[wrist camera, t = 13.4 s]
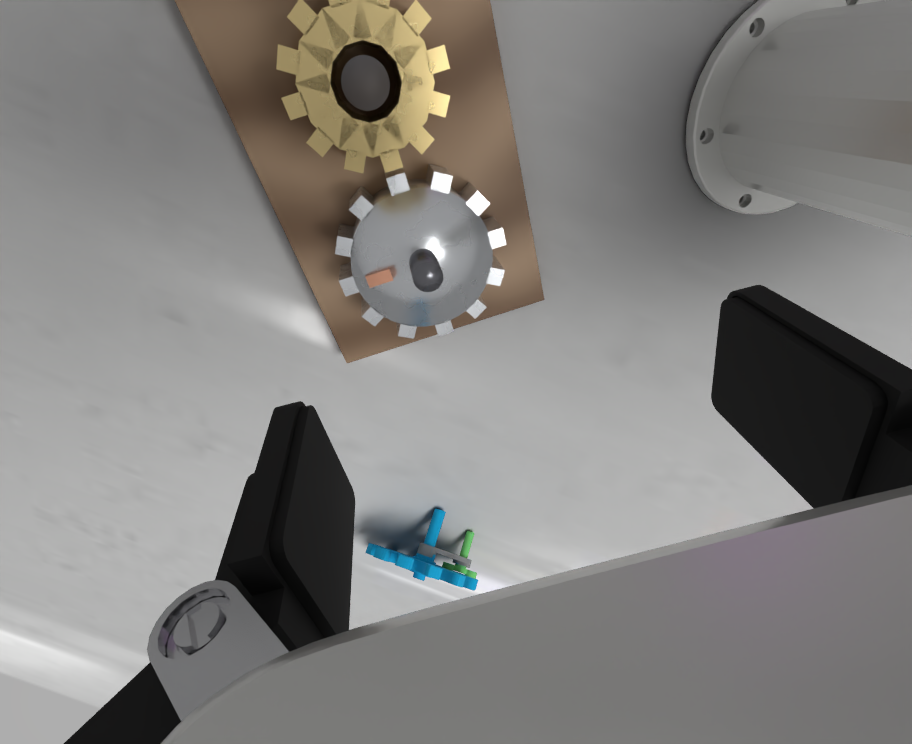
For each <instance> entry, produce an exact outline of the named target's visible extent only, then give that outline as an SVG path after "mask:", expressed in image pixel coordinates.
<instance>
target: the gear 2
mask: <svg viewBox="0 0 912 744" xmlns="http://www.w3.org/2000/svg"><path fill="white" fill-rule="evenodd" d="M445 513H446V512H444V511H442V510H439V509H435V510H434V513H433V516H432V519H431V522H430V525H429V528H428V532H427V535H426V538H425V541H424V543H421V542H420V545H419V548H418V551H417V554H416V556H413V557H412V556H408V555H405V554H403V553H400V552H397V551H394V550H391V549H387V548H384V547H381V546H378V545H375V544H371V543H369V545H368V547H367V550H366V553H367V554H370V555H373V557H376V558H379V559H381V560H384V561H387V562H393V563H395V565H397V566H400V567H402V568H405V569H408V570H410V571H412V572H414V575H413V577H414V578H417V579H420V580H423V581H424V580H425V576H427V577H430V578H434V579H437V580H439V579H440V580H443V581H446V582H448V583H450V584H453V585H456V586H459V587H465V588H468V589H471V590H475V589H476V586H477V582H478V580H477V579H475V578H476V575H477V573H476V572H473V571H470V570H467V569H466V567H468V568H470V564H471V560H470V559H467V557H468V553H469V550H470V546H471V543H472V539H473V536H474V533H473V532H470V531H467V532H466V536H465V539H464V542H463V546H462V549H461V553H460V556H458V555H455V554H453V553H450V552H447V551H444V550H441V549H438V548H436V547H435V545H436V541H437V538H438V535H439V532H440V529H441V525H442V522H443V519H444V516H445ZM436 553H437V554H440V555H443V556H446V557H449V558H452V559H453V563H456V564H455V565H452V564H449V563H446V562H443V565H442V567H441V566H438V565H435V564H436V563H435V562H434V559H435V556H436ZM453 570H455V571H458V572H461V573H464V574H465V575H464V574H461V573H458V572H455V571H453Z"/></svg>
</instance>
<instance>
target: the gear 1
mask: <svg viewBox="0 0 912 744" xmlns="http://www.w3.org/2000/svg"><path fill="white" fill-rule="evenodd" d="M384 172H385V170H384ZM385 177H386V180H387V183H388V186H387V187H385V188H384V189H382V190H380V191H379V192H378V193H376V194H375V195H374V196H372V195H371V194H370V193H369V192H368V191H367V190H366V189H365V188H363V187H362V186H361V187H360V188H359V189H358V190H357V191H356V193H355V194H354V195H353V196H352V197H351V199H350V204H349V210H350V211H351V212H352V213H353V214H354V215H355V216H357V220H356V222H355V225H354V227H353V226H348V225H343V224H339V228H338V235H337V242H336V250H335V254H337V255H342V256H347V257H350V258H351V262H350V263H347V264H344V265H341V266H340V273H339V283H340V285H341V287H342V290H343V292H344V294H345V297H346V296H349V295H352V294H355V293H358V292H360V294H361V295H362V297H363V299H362V317H363V318H364V319H365V320H367V321H368V322H369V323H371V324H372V325H373V326H376V325H377V324H378V323H379V322H380V321H381V320H382V318H383V317H385V318H387V319H389V320H391V321H394V322H396V326H397V333H398V336H400V337H407V338H413V339H414V337H415V333H416V328H417V327H424V326H433V325H435V327H436V330H437V333H438V336H442V335H445V334H448V333H452V332H454V330H453V327H452V323H451V320H452V319H454V318H456V317H457V316H459V315H461V314H462V313H463V312H465V311H467V312H468V313H469V314H470V315H471V316H472V317H474V318H475V319H476V318H477V317H478V316H479V315H480V314H481V313H482V312H483V311H484V310H485V309H486V308H487V307H486V305H485V303H484V301H483V299H482V297H481V293H482V292H483V290H484V288H485V286H486V284H491V285H497V286H500V285H501V281H502V278H503V275H504V272H505V270H504V268H503V267H502V265H501V264H500V263H499V261H498V260H497V258H496V257H495V256H493V251H492V249H494V248H497V247H500V246H504V245H506V240H505V236H504V231H503V227H502V226H501V225H500V224H499V223H498V222H497V221H496V220H495V219H494V217H493V216H492V217H489V218H486V219H483V220H482V219H481V217H480V216H479V215H480V214H481V213H482V212H483V211H484V210H485V209H486V208H487V207H488V206H489V205H490V203H489V202H488V201H487V200H486V199H485V198H484V197H483V196H482V195H481V194H480V193H479V192H478V190H477V189H476V188H475V187H474V186H473V185H472V184H471V183H470V182H468V183H467V184H466V185H465V186H464V187H463V189H462V190H461V191H460V192H459V193H458V192H457V191H455V190H454V189H452V188H451V187H450V186H451V182H452V178H453V176H452V175H451V173H450V172H449V171H448V170H447V169H446V168H443V167H440V166H436V165H432V164H428V169H427V174H426V178H425V179H409V180H407V179H406V175H405V172H404V170H403V167H402V168H399V169H396V170H393V171H390V172H387V173H385Z"/></svg>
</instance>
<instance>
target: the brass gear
mask: <svg viewBox="0 0 912 744" xmlns="http://www.w3.org/2000/svg"><path fill="white" fill-rule="evenodd" d="M328 1H329V4H330V6H327V7H324V8H322V9H321V11H320V12H319V14H318V15H317V14H316V13H315V12H314V11H313V10H312V9H311V8H310V7H309V6H308V5H307V4H306V3H305V2H304V1H303V0H298V2H297V3H296V5H295V6H294V8H293V9H292V10H291V12H290V13H289V15H288V16H287V18H288V19H289V20H290V21H291V22H292V23H293V24H294V25H295V26H296V27H297V28H298V29H299V30H300V31H301V32H302V33H303V34H304V35H303V36H302V38H301V39H300V40H299V47H298V50H296V49H292V48H289V47H286V46H282V45H279V44H278V51H277V66H276V69H277V70H281V71H284V72H288V73H291V74H295V75H296V83H295V84H296V86H297V89H298V91H299V92H298V93H294V94H291V95H288V96H285V97H282V98H281V99H282V101H283V103H284V106H285V108H286V111H287V113H288V116H289V118H290V120H293V119H296V118H299V117H302V116H306V115H308V117H309V119H310V122H311V123H312V124H313V125H314V126H315V127H316V128H317V129H316V130H315V132H314V133H313V134H312V136H311V137H310V138H309V140H308V141H307V142H306V143H307V144H308V145H309V146H310V147H312V148H313V149H314V150H315V151H316V152H317V153H318V154H319V155H320V156H322V157H323V156H324V155H325V154H326V153H327V151H328V150H329V149H330V147H331V146H332V145H333V144H334V145H335V146H336V147H338V148H339V149H341V150H345V151H346V158H345V166H344V169H346V170H350V171H354V172H359V173H363V172H364V166H365V159H366V156H369V157H372V158H374V157H376V156H380V158H381V161H382V164H383V167H384V170H385V173H387V172H390V171H393V170H396V169H399V168H402V167H403V164H402V161H401V158H400V155H399V151H398V149H401V148H404V147H405V146H406V145H407V144H408V143H409V142H410V143H411V144H412V145H413V146H414V147H415V148H416V149H417V150H418V151H419V152H420V153H421V154H423V153H424V152H425V150H426V149H427V148H428V147H429V146H430V145H431V143H432V142H433V141H434V140H435V139H434V138H433V137H432V136H431V135H430V134H429V133H428V132H427V131H426V130H425V129H424V128H423V127H422V126H423V125H424V124H425V122H426V121H427V118H428V114H429V113H431V114H435V115H438V116H442V117H446V113H447V108H448V104H449V99H450V96H449V95H446V94H443V93H439V92H436V91H433V89H434V84H435V81H434V77H433V74H435V73H438V72H441V71H444V70H447V69H450V66H449V62H448V58H447V53H446V49H445V45H442V46H439V47H436V48H433V49H430V50H427V49H426V45H425V41H424V40H423V39H422V38H421V37H420V36H419V34H420V33H421V32H422V30H423V29H424V28H425V27H426V25H427V24H428V23H429V21H430V20H431V19H432V18H431V17H430V16H429V15H428V13H427V12H426V11H425V10H424V9H423V7H422V6H421V5H420V4H419V2H418V1H417V0H415V1H414V2H413V4H412V5H411V6H410V8H409V9H408V10H407V11H406V13H405V14H404V15H403V16H402V14H401V13H400V12H399V11H398V10H397V9H395V8H392V7H389V4H390V0H328ZM362 44H363V45H366V46H369V47H372V48H376V49H379V50H380V51H381V52H382V53H383V54H384V56H385V57H386V58H387V59H388V60H389V61H390V62H391V63H392V67H393V70H394V74H395V77H396V81H397V82H396V88H395V94H394V99H393V100H392V102H391V103H390V104H389V105H388V107H387V108H386V109H385V110H384V111H383V112H380V113H377V114H374V115H371V116H366V115H363V114H359V113H356V112H353V111H352V110H351V109H350V108H349V107H348V106H347V105H346V104H345V103H344V102H343V101H342V100H341V99H340V96H339V93H338V90H337V87H336V85H335V73H336V65H337V62H338V61H339V60H340V58H341V57H342V55H343V54H344V53H345V51H346V50H347V49H350V48H353V47H356V46H359V45H362Z"/></svg>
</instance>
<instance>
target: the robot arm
mask: <svg viewBox="0 0 912 744" xmlns="http://www.w3.org/2000/svg"><path fill="white" fill-rule="evenodd" d="M700 135H701V136H700ZM686 149H687V156H688V163H689V166H690V169H691V172H692V174H693V177H694V180H695V181H696V183H697V184H698V186H699V187H700V189H701V190H702V192H703V193H704V194H705V195H706V196H707V197H709V198H710V199H711V200H712V201H713V202H714V203H716V204H718V205H720V206H722V207H724V208H726V209H729V210H732V211H735V212H737V213H741V214H753V215H760V214H768V213H774V212H777V211H780V210H783V209H787V208H790V207H792V206H794V205H796V204H798V203H801V204H804V205H807V206H811V207H814V208H817V209H821V210H824V211H827V212H831V213H834V214H837V215H840V216H844V217H847V218H850V219H854V220H857V221H860V222H864V223H867V224H870V225H874V226H877V227H880V228H884V229H887V230H890V231H894V232H897V233H900V234H904V235H907V236H910V237H912V0H885V1H884V0H759V1H757V2H756V3H755V4H754V5H752V6H751V7H750V8H749V9H747V10H746V11H745V12H744V13H743V14H742V15H741V16H740V17H739V19H738V20H737V21H736V22H735V23H734V24H733V25H732V26H731V27H730V28H729V29H728V30H727V32H726V33H725V35H724V36H723V37H722V39H721V40H720V42H719V43H718V45H717V46H716V47H715V49H714V50H713V52H712V53H711V55H710V57H709V59H708V61H707V63H706V65H705V67H704V69H703V71H702V73H701V75H700V77H699V79H698V82H697V85H696V88H695V91H694V94H693V96H692V99H691V104H690V109H689V114H688V119H687V127H686ZM711 398H712V402H713V405H714V407H715V409H716V410H717V411H718V412H719V413H720V414H721V415H722V416H723V417H724V418H725V419H726V420H727V421H728V422H729V423H730V424H731V425H732V426H733V427H734V428H735V429H736V430H737V432H738V433H739V434H740V435H741V436H742V437H743V438H744V439H745V440H746V441H747V442H748V443H749V444H750V445H751V446H752V447H753V448H754V449H755V450H756V451H757V452H758V453H759V454H760V455H761V456H762V457H763V458H764V459H765V460H766V461H767V462H768V463H769V464H770V465H771V466H772V467H773V468H774V469H775V470H776V471H777V472H778V473H779V474H780V475H781V476H782V477H783V478H784V479H785V480H786V481H787V482H788V483H789V484H790V485H791V486H792V487H793V488H794V489H795V490H796V491H797V492H798V493H799V494H800V495H801V496H802V497H803V498H804V499H805V500H806V501H807V502H808V503H809V504H810V505H811V506H812V507H813V508H814V509H811V510H807V511H803V512H799V513H795V514H791V515H787V516H783V517H779V518H775V519H771V520H767V521H763V522H759V523H755V524H751V525H747V526H743V527H739V528H735V529H731V530H727V531H723V532H719V533H715V534H711V535H707V536H703V537H699V538H695V539H691V540H687V541H683V542H680V543H676V544H672V545H668V546H664V547H660V548H656V549H652V550H648V551H644V552H640V553H637V554H633V555H629V556H625V557H621V558H617V559H613V560H609V561H605V562H601V563H598V564H594V565H590V566H586V567H582V568H578V569H574V570H570V571H566V572H563V573H559V574H555V575H551V576H547V577H544V578H540V579H536V580H532V581H528V582H524V583H521V584H517V585H513V586H509V587H505V588H502V589H498V590H494V591H490V592H486V593H482V594H479V595H475V596H471V597H467V598H463V599H460V600H456V601H452V602H448V603H444V604H440V605H437V606H433V607H430V608H426V609H422V610H419V611H415V612H412V613H408V614H405V615H401V616H397V617H394V618H390V619H387V620H383V621H380V622H376V623H372V624H369V625H365V626H362V627H358V628H355V629H352V630H349V615H350V595H351V575H352V555H353V536H354V516H355V496H354V492H353V489H352V486H351V484H350V482H349V480H348V478H347V476H346V473H345V471H344V469H343V467H342V465H341V463H340V461H339V459H338V457H337V454H336V452H335V450H334V448H333V446H332V444H331V442H330V440H329V437H328V435H327V433H326V431H325V429H324V427H323V425H322V423H321V421H320V418H319V416H318V414H317V412H316V410H315V408H314V407H313V406H312V405H310V406H305V404H304V403H303V402H301V401H299V402H295V403H292V404H288V405H284V406H280V407H276V408H275V409H274V411H273V414H272V417H271V420H270V424H269V427H268V430H267V434H266V437H265V440H264V444H263V447H262V450H261V453H260V457H259V460H258V463H257V467H256V470H255V473H253V474H251V475H250V476H249V477H248V479H247V481H246V484H245V487H244V490H243V493H242V497H241V500H240V503H239V506H238V509H237V512H236V516H235V519H234V522H233V525H232V528H231V531H230V534H229V538H228V541H227V544H226V547H225V550H224V553H223V557H222V560H221V563H220V566H219V569H218V572H217V576H216V579H215V580H214V581H209V582H204V583H202V584H200V585H197V586H195V587H193V588H191V589H189V590H188V591H187V592H185V593H184V594H182V595H181V596H179V597H178V598H177V599H176V600H175V601H174V602H173V603H172V604H171V605H170V606H168V607H167V608H166V610H165V611H164V612H163V614H162V615H161V616H160V618H159V619H158V620H157V622H156V624H155V626H154V628H153V630H152V632H151V634H150V636H149V642H148V647H147V651H148V655H149V660H150V663H149V664H148V665H147V666H146V667H145V668H144V669H143V670H142V671H141V672H140V673H138V674H137V675H136V676H135V677H134V678H133V679H132V680H131V681H130V682H129V683H128V684H127V685H126V686H125V687H124V688H122V689H121V690H120V691H119V692H118V693H117V694H116V695H115V696H114V697H113V698H112V699H111V700H110V701H109V702H108V703H106V704H105V705H104V706H103V707H102V708H101V709H100V710H99V711H98V712H97V713H96V714H95V715H94V716H93V717H92V718H91V719H89V720H88V721H87V722H86V723H85V724H84V725H83V726H82V727H81V728H80V729H79V730H78V731H77V732H76V733H75V734H74V735H72V736H71V737H70V738H69V739H68V740H67V741H66V742H65V743H64V744H912V369H910V368H908V367H906V366H905V365H903V364H901V363H899V362H897V361H896V360H894V359H892V358H890V357H889V356H887V355H885V354H883V353H881V352H880V351H878V350H876V349H874V348H873V347H871V346H869V345H867V344H866V343H864V342H862V341H860V340H858V339H857V338H855V337H853V336H851V335H850V334H848V333H846V332H844V331H842V330H841V329H839V328H837V327H835V326H834V325H832V324H830V323H828V322H826V321H825V320H823V319H821V318H819V317H818V316H816V315H814V314H812V313H810V312H809V311H807V310H805V309H803V308H802V307H800V306H798V305H796V304H795V303H793V302H791V301H789V300H787V299H786V298H784V297H782V296H780V295H779V294H777V293H775V292H773V291H771V290H770V289H768V288H766V287H764V286H762V285H755V286H751V287H747V288H744V289H740V290H736V291H732V292H731V293H730V294H729V295H728V297H727V299H726V300H724V301H723V302H722V304H721V309H720V319H719V328H718V337H717V347H716V356H715V366H714V375H713V385H712V394H711Z"/></svg>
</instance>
